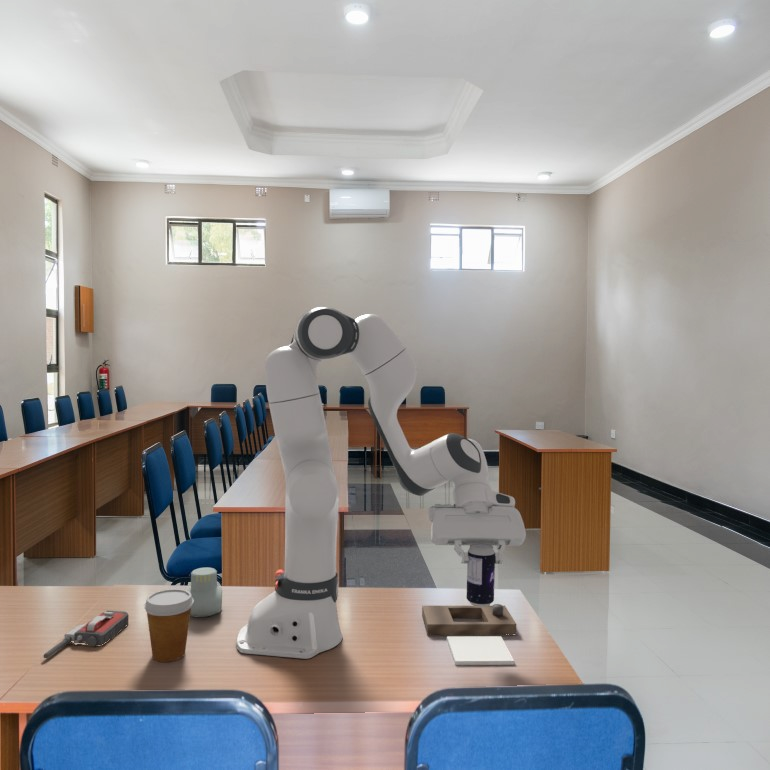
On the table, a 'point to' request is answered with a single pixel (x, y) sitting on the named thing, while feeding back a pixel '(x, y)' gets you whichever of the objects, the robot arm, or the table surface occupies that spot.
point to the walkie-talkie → (95, 630)
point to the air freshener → (205, 592)
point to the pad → (479, 650)
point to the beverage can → (480, 574)
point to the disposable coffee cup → (168, 623)
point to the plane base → (492, 617)
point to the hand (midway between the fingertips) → (481, 562)
